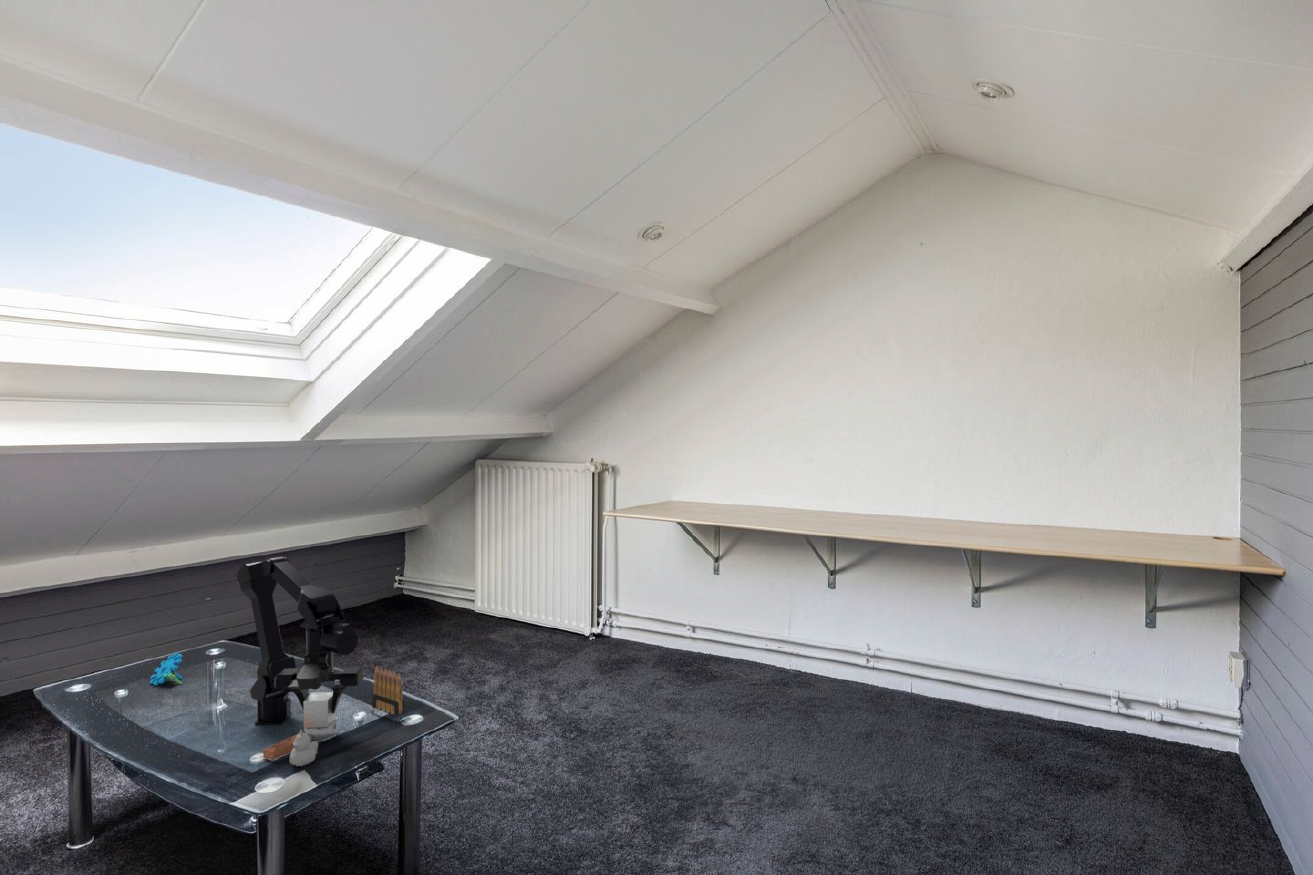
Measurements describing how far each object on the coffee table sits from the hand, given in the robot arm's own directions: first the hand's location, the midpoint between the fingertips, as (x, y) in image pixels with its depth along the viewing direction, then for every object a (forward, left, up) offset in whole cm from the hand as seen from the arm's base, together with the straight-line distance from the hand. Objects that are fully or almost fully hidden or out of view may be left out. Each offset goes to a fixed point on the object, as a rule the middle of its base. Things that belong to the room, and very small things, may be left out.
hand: (320, 713), depth 182 cm
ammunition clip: (+13, +11, -6) cm, 18 cm away
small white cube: (0, 0, -2) cm, 2 cm away
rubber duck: (+2, -14, -6) cm, 15 cm away
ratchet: (-3, -5, -5) cm, 8 cm away
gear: (-55, +40, -6) cm, 69 cm away
